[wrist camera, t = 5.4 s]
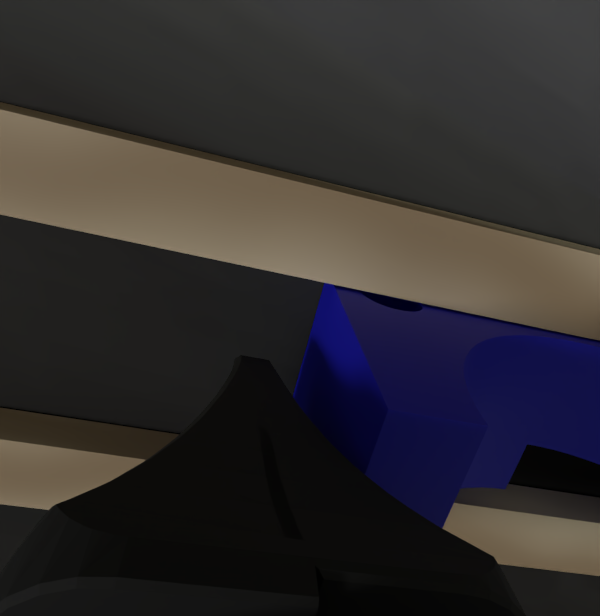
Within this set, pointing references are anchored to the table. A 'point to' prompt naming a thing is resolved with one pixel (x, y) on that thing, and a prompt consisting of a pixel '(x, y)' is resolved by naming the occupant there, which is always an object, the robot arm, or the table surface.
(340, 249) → the channel
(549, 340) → the blue stepped block
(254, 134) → the table surface
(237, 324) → the table surface
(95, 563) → the robot arm
